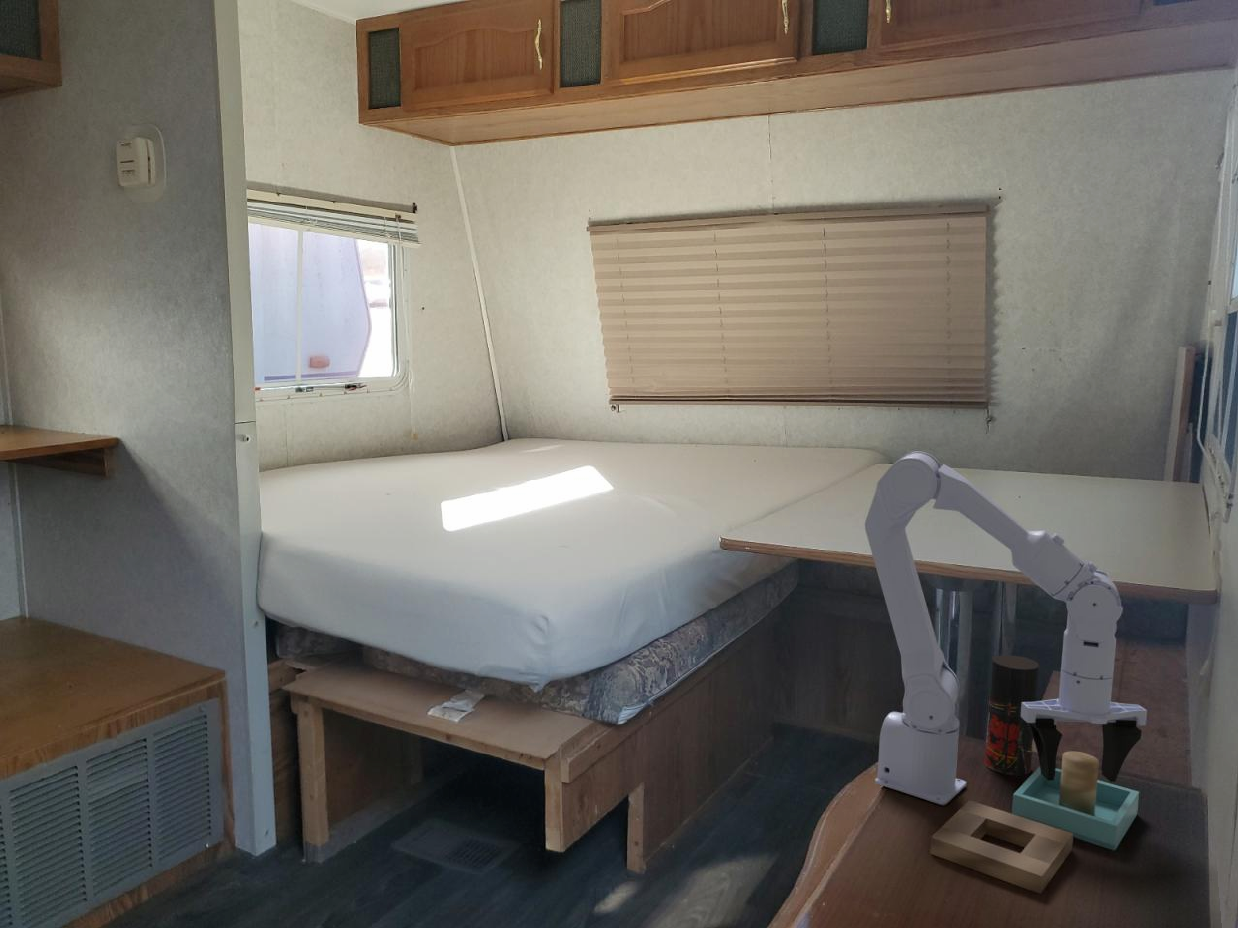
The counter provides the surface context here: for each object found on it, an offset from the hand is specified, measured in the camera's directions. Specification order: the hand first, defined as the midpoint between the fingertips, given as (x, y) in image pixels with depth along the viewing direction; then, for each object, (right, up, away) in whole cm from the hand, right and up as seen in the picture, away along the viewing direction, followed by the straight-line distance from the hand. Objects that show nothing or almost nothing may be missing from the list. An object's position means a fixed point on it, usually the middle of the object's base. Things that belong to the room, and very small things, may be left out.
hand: (1077, 777), depth 116 cm
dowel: (0, -4, 0) cm, 4 cm away
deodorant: (-3, -3, +15) cm, 15 cm away
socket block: (-13, -6, -8) cm, 16 cm away
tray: (0, -5, +1) cm, 5 cm away
